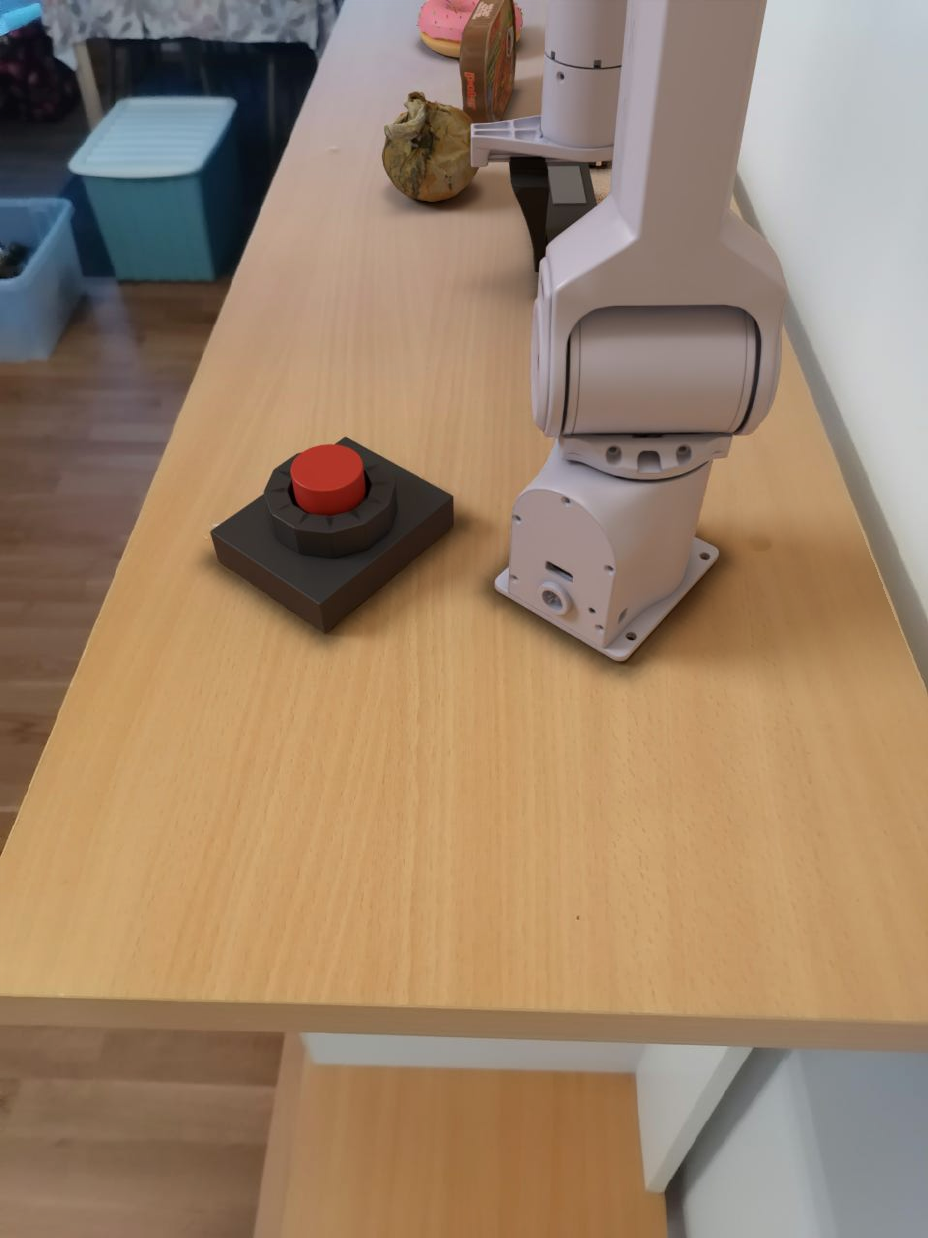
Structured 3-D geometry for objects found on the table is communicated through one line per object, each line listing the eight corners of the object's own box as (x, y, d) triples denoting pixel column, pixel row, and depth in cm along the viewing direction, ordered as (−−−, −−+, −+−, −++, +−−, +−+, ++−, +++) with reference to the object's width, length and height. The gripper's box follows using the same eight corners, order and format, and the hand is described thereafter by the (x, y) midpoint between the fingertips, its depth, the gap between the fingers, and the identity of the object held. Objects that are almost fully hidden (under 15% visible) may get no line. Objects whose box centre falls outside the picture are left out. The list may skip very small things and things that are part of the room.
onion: (485, 213, 75) (487, 106, 69) (384, 217, 75) (377, 110, 69) (478, 170, 80) (479, 67, 74) (383, 174, 80) (376, 70, 74)
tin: (490, 145, 84) (491, 38, 77) (455, 142, 84) (453, 35, 78) (518, 80, 93) (521, -20, 87) (486, 77, 94) (487, -22, 87)
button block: (324, 634, 47) (314, 579, 44) (217, 561, 50) (201, 504, 47) (454, 525, 52) (453, 469, 49) (349, 465, 55) (342, 409, 52)
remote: (601, 296, 67) (607, 247, 64) (545, 297, 67) (548, 248, 64) (582, 197, 77) (586, 151, 74) (533, 198, 77) (535, 151, 74)
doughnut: (449, 71, 95) (448, 24, 92) (400, 37, 101) (397, -8, 98) (542, 51, 98) (544, 5, 95) (488, 19, 105) (489, -25, 101)
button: (330, 527, 47) (326, 500, 45) (280, 496, 48) (275, 469, 47) (380, 489, 49) (378, 463, 47) (330, 460, 50) (326, 434, 49)
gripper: (702, 26, 59) (668, 235, 70) (470, 29, 59) (470, 237, 70) (723, 69, 55) (683, 286, 65) (471, 72, 55) (471, 288, 65)
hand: (573, 264), depth 67 cm, fingers open, 4 cm apart
